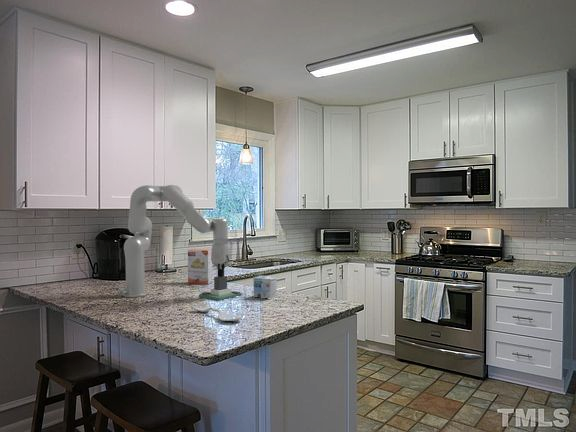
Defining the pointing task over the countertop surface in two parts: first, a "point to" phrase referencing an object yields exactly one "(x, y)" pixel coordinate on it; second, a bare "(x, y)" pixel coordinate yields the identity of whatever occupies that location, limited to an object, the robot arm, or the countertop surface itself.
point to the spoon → (221, 314)
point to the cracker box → (199, 266)
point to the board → (220, 294)
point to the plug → (220, 283)
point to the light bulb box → (265, 286)
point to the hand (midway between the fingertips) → (220, 276)
